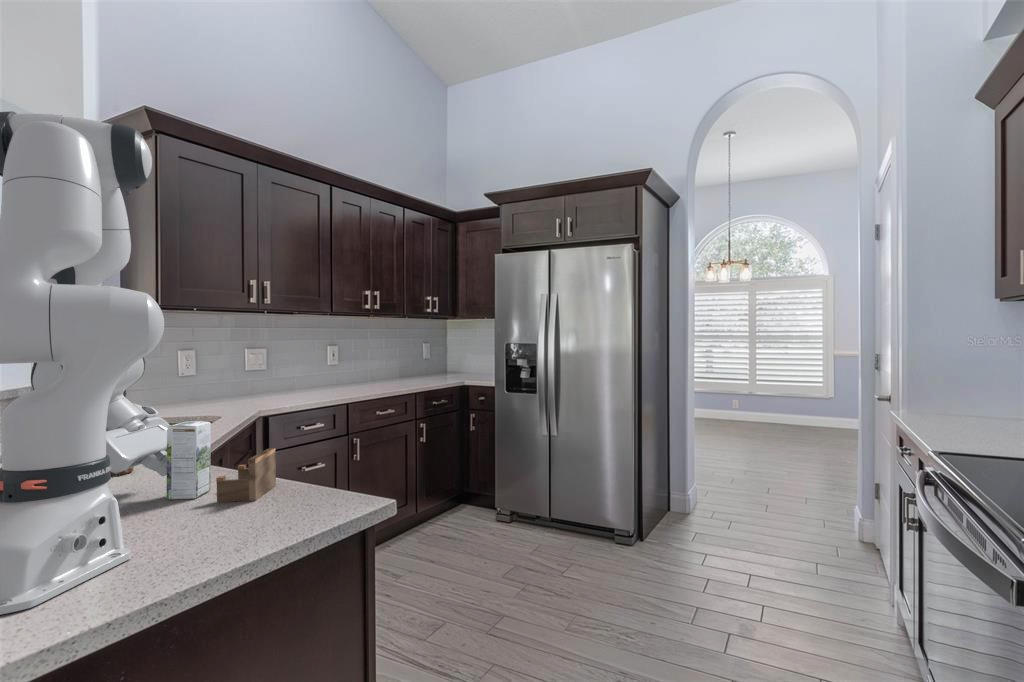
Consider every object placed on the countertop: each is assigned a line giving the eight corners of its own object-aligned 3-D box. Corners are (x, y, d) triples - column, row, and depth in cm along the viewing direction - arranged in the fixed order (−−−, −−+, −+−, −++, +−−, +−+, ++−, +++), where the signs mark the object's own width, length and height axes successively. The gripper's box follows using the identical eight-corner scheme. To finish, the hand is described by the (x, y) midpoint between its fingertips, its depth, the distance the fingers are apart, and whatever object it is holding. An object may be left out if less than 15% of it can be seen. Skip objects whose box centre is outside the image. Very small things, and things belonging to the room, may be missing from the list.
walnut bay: (256, 500, 102) (255, 459, 102) (216, 502, 101) (215, 460, 101) (276, 485, 113) (275, 448, 113) (240, 487, 112) (239, 449, 112)
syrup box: (182, 491, 109) (181, 421, 109) (212, 490, 109) (211, 420, 109) (165, 500, 103) (165, 425, 103) (197, 499, 104) (196, 425, 104)
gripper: (92, 421, 95) (151, 473, 96) (158, 406, 115) (206, 450, 116) (66, 446, 94) (125, 499, 95) (137, 427, 115) (185, 471, 116)
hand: (170, 472), depth 106 cm, fingers closed, pressing on syrup box
